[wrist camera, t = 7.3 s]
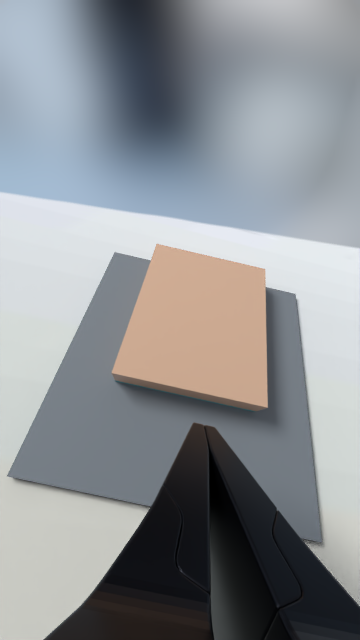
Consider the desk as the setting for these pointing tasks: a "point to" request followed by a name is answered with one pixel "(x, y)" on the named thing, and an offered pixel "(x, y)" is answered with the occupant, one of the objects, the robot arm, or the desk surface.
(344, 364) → the desk surface
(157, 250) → the tile
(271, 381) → the mat
